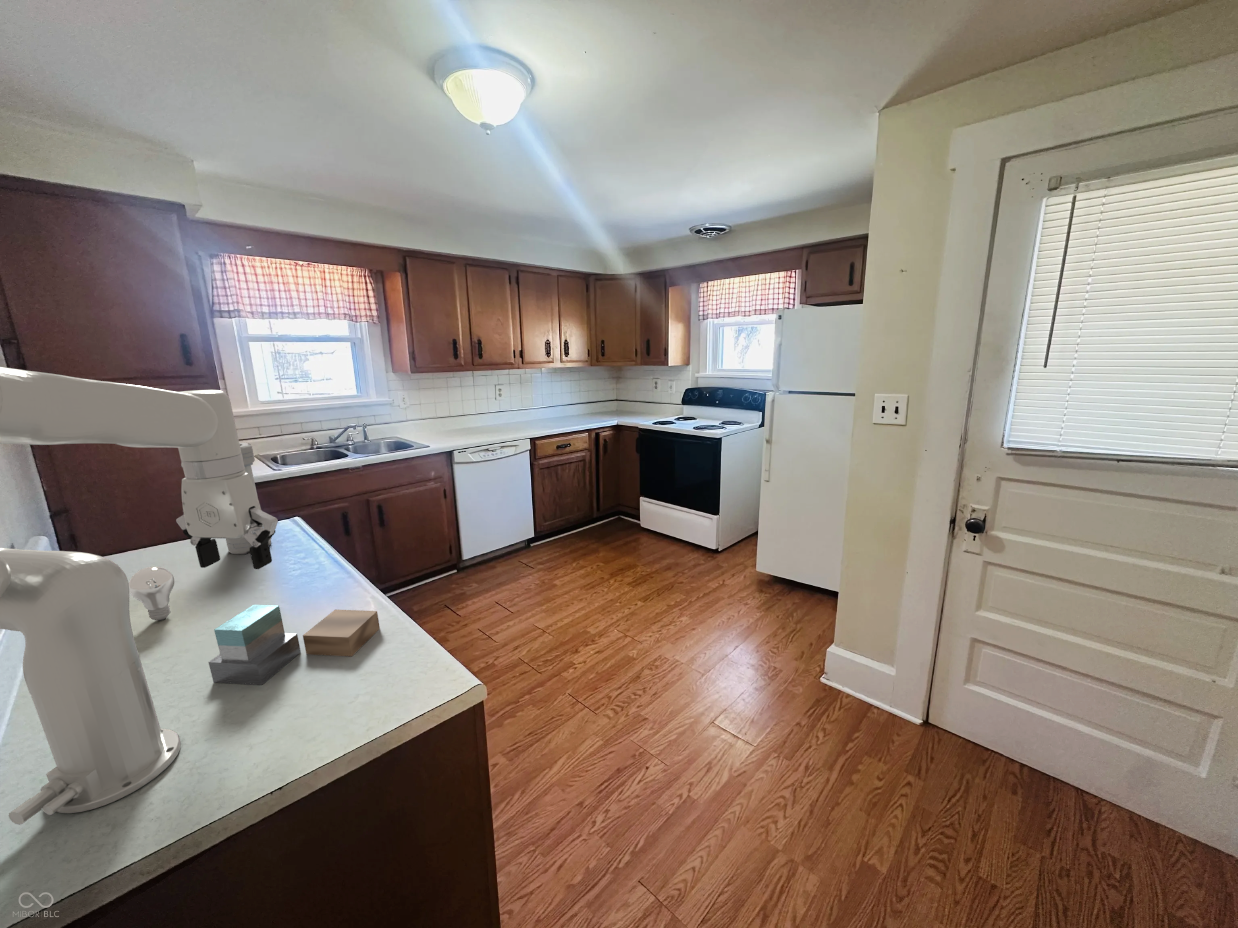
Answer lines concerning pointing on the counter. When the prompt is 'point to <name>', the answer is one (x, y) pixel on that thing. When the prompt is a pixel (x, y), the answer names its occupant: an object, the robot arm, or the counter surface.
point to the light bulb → (153, 590)
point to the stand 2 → (341, 633)
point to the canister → (241, 543)
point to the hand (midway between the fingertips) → (236, 564)
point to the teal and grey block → (249, 633)
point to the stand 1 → (257, 663)
